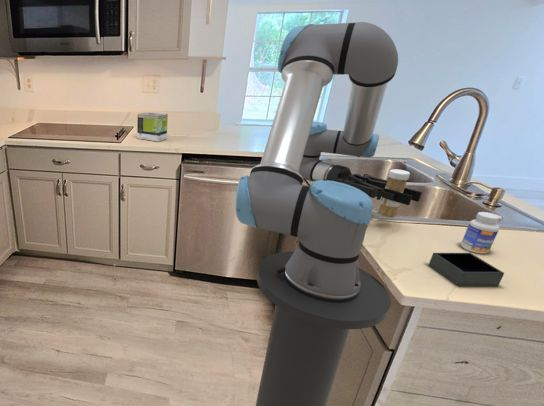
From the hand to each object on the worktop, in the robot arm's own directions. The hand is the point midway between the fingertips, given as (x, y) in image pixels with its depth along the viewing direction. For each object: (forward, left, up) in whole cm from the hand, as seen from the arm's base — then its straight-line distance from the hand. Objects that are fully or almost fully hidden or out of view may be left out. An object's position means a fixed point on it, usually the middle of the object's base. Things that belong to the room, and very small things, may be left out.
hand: (414, 198), depth 100 cm
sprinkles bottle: (-3, +5, -7) cm, 9 cm away
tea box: (-63, +119, -11) cm, 135 cm away
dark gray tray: (-2, -21, -10) cm, 24 cm away
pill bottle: (+11, -9, -11) cm, 18 cm away
